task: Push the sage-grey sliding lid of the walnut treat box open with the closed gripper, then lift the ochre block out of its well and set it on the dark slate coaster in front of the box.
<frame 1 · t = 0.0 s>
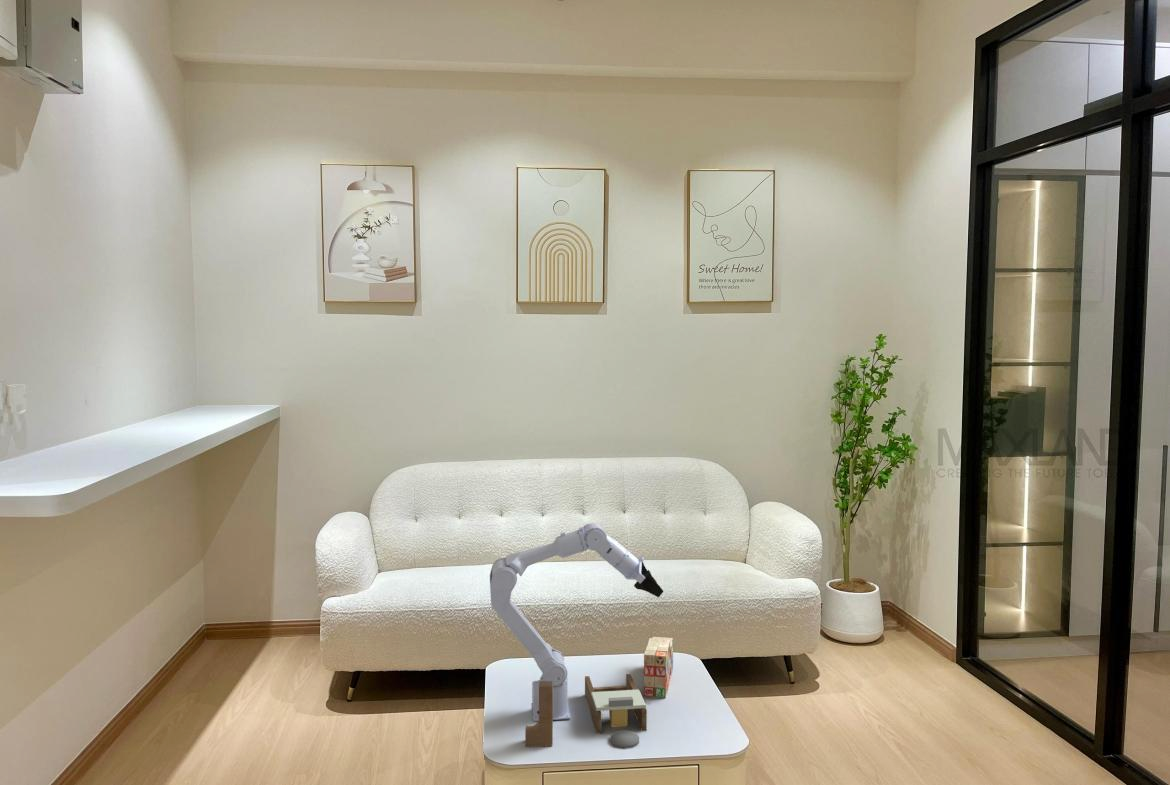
hand: (657, 589, 213), 32 cm above the table, tool tilted 50°, fingers open, 7 cm apart
lid: (618, 696, 206), point 7 cm above the table, slide at 0.0 cm
ochre block: (618, 722, 207), on the table
wooden block: (539, 744, 196), on the table
coaster: (624, 740, 197), on the table
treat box: (614, 711, 213), on the table
stack of blocks: (658, 682, 232), on the table
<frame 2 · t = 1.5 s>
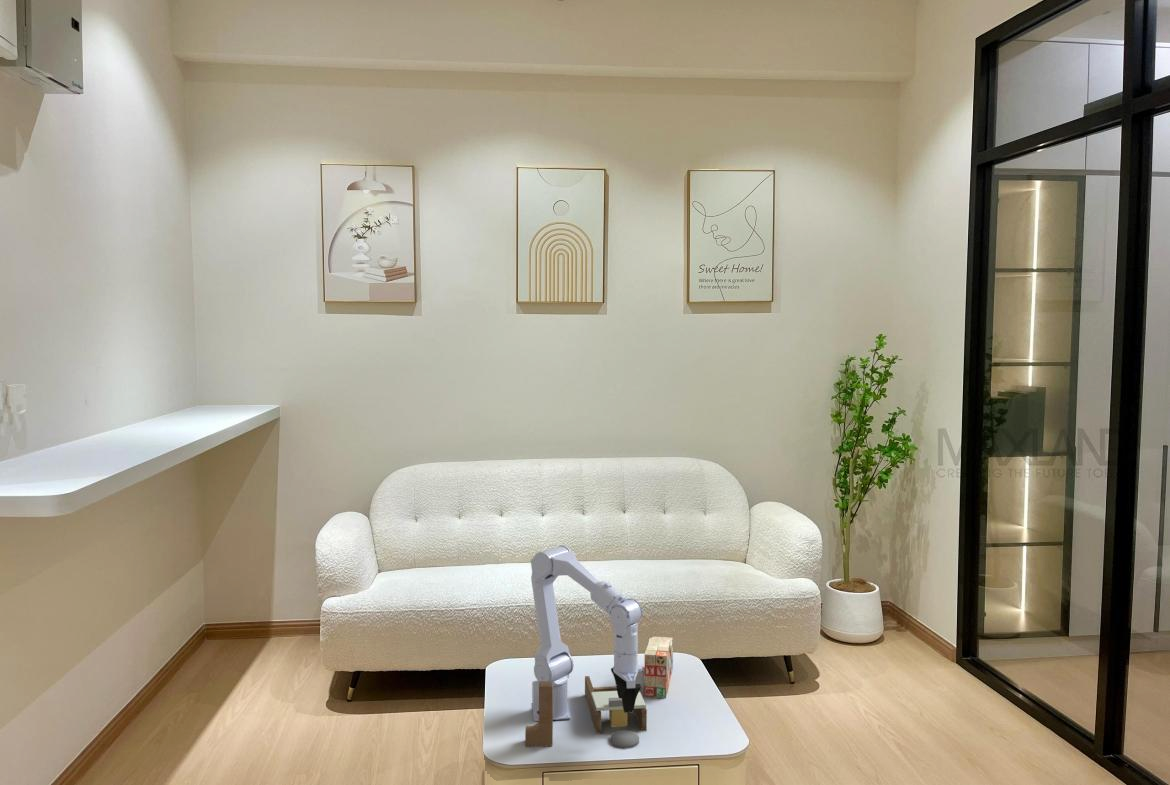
hand: (625, 704, 196), 9 cm above the table, tool pointing down, fingers open, 7 cm apart
nothing on the table moved.
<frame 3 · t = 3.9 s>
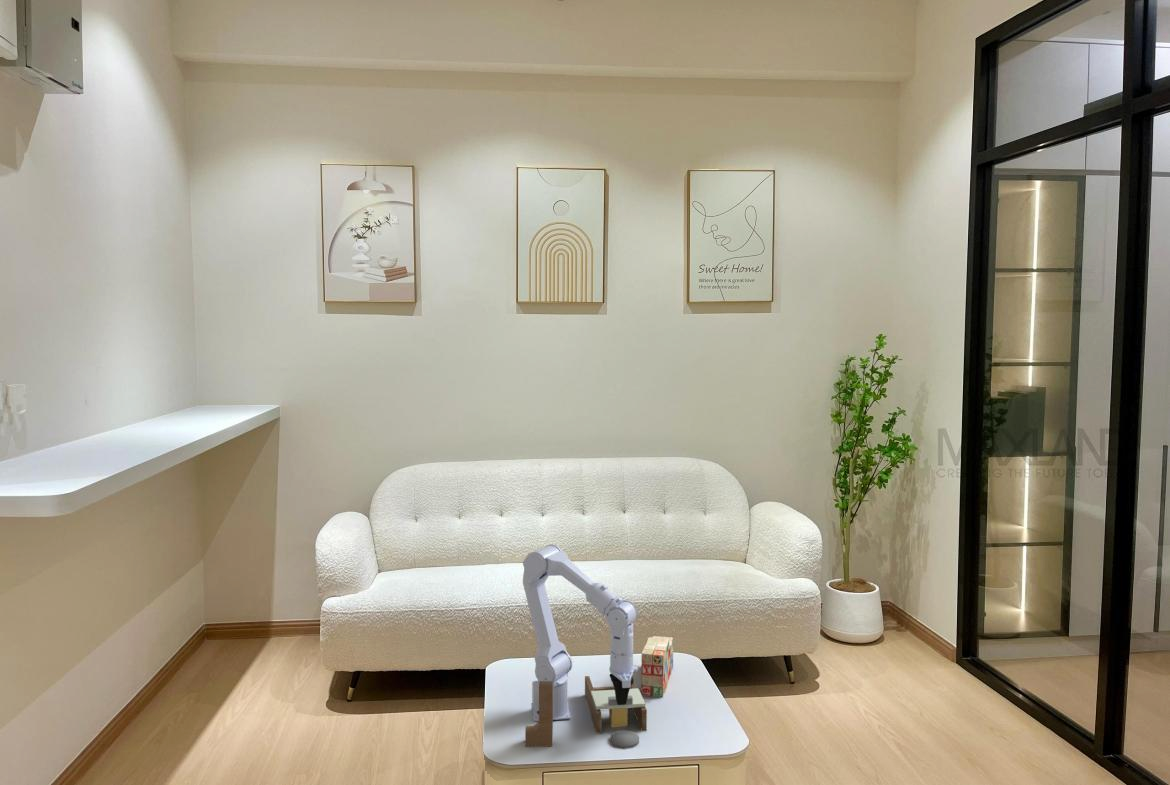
hand: (621, 703, 201), 7 cm above the table, tool pointing down, fingers closed
lid: (617, 695, 207), point 7 cm above the table, slide at 0.7 cm, touching gripper
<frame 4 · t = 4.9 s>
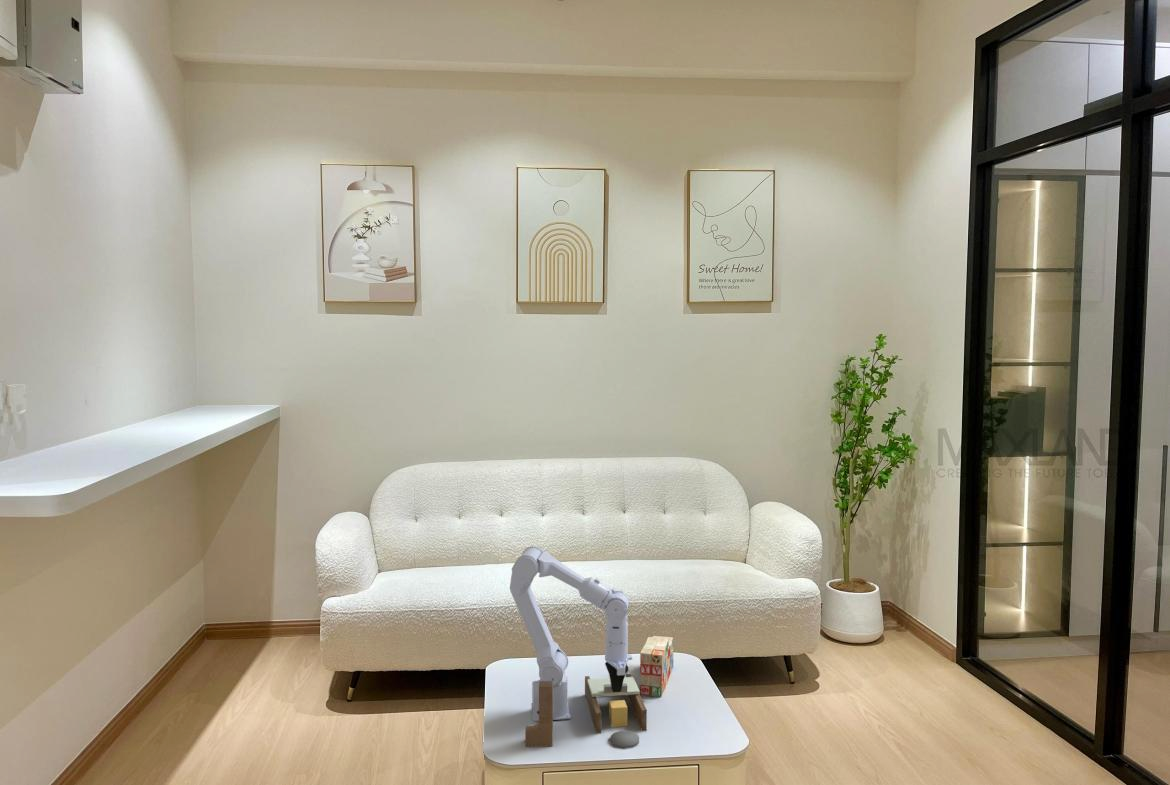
hand: (616, 691, 209), 7 cm above the table, tool pointing down, fingers closed
lid: (613, 683, 214), point 7 cm above the table, slide at 8.0 cm, touching gripper
everything else where it was.
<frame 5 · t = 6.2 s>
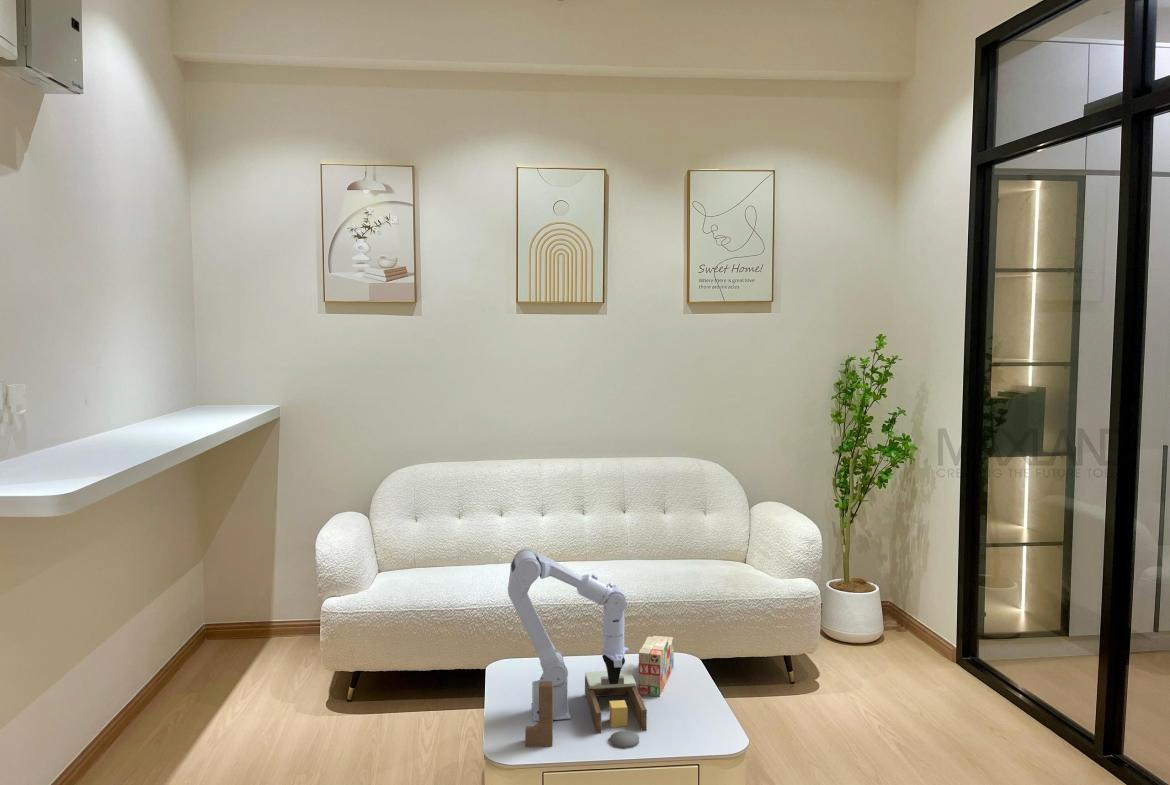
hand: (613, 683, 214), 7 cm above the table, tool pointing down, fingers closed
lid: (610, 676, 219), point 7 cm above the table, slide at 12.9 cm, touching gripper
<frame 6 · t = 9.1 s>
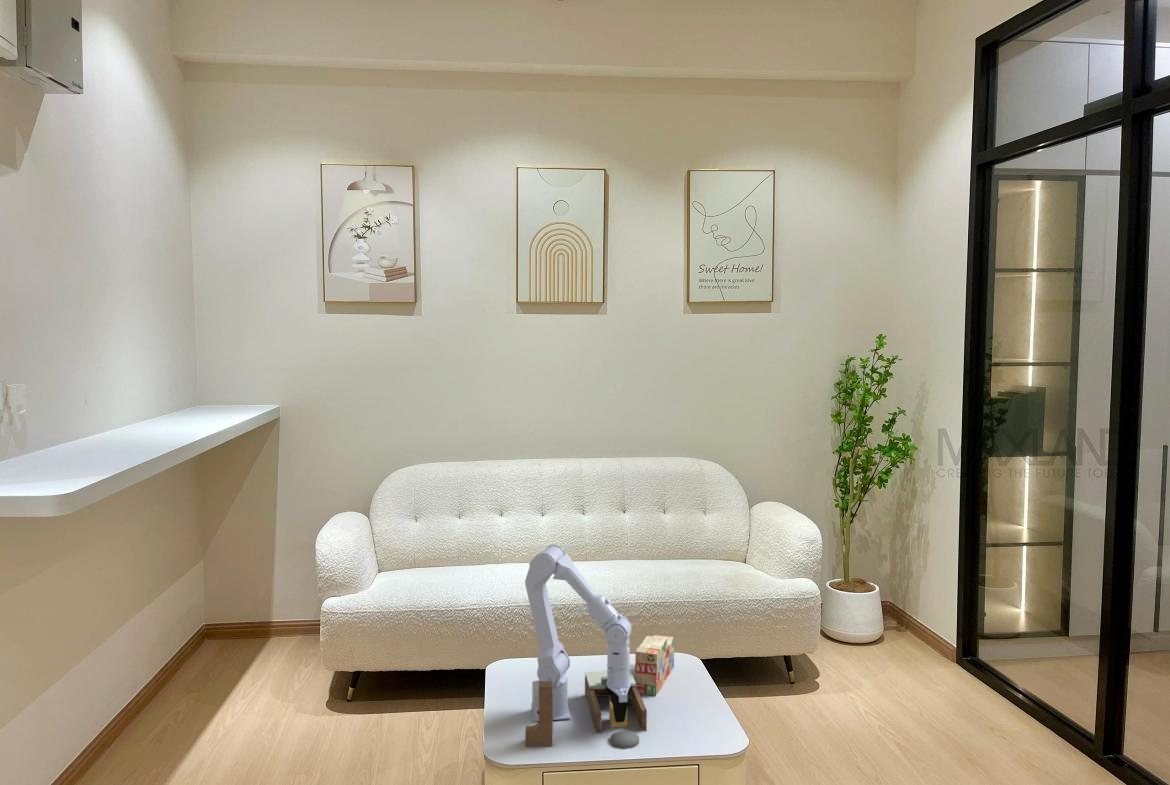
hand: (618, 717, 207), 1 cm above the table, tool pointing down, fingers closed on ochre block, 4 cm apart
lid: (610, 676, 219), point 7 cm above the table, slide at 12.9 cm
ochre block: (618, 722, 207), on the table, touching gripper
when the fingers open (4 cm above the table, at t = 12.8 s): ochre block drops 2 cm, resting on coaster.
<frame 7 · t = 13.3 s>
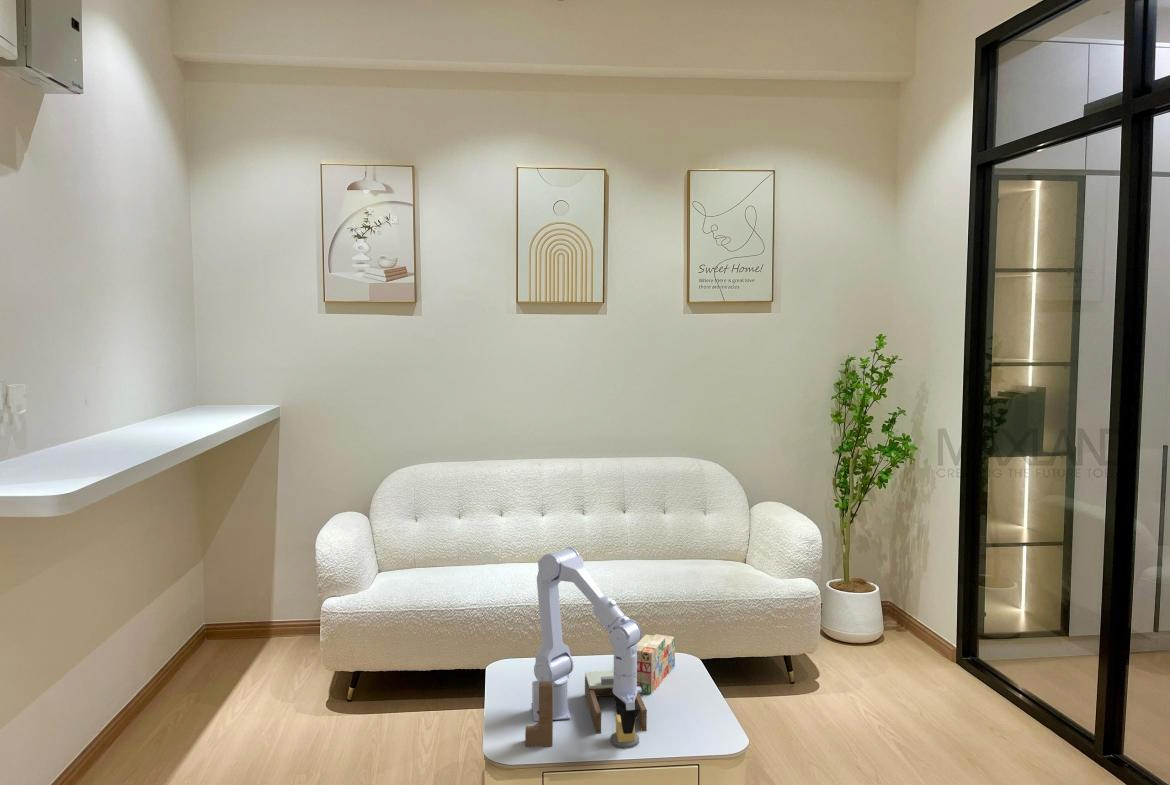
hand: (624, 725, 197), 4 cm above the table, tool pointing down, fingers open, 7 cm apart
ochre block: (625, 737, 197), point 1 cm above the table, touching coaster
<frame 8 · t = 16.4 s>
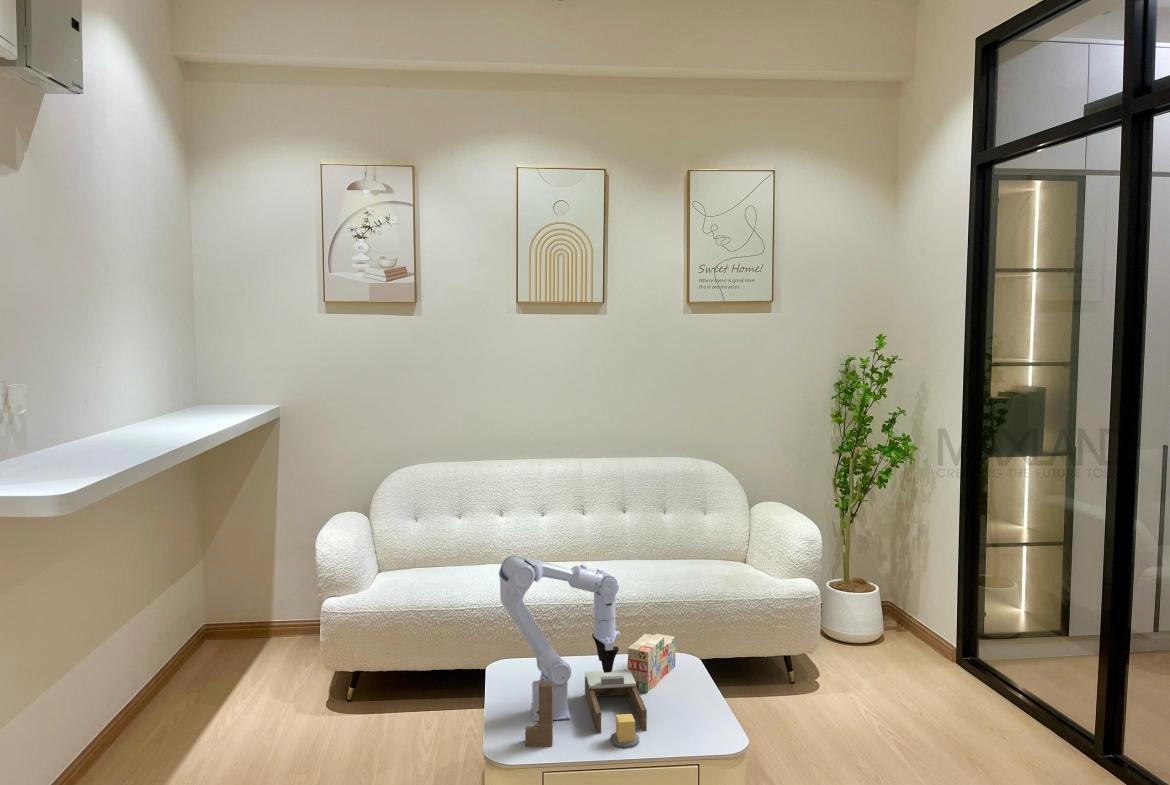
hand: (605, 666, 217), 10 cm above the table, tool pointing down, fingers open, 7 cm apart
at the end: lid slide at 12.9 cm; ochre block 0.1 cm off-centre on the coaster, point 0.8 cm above the coaster's base; ochre block tilted 0° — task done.
